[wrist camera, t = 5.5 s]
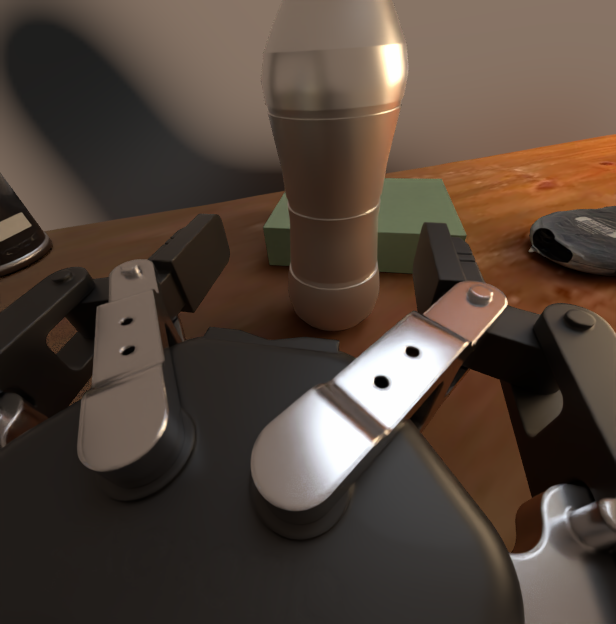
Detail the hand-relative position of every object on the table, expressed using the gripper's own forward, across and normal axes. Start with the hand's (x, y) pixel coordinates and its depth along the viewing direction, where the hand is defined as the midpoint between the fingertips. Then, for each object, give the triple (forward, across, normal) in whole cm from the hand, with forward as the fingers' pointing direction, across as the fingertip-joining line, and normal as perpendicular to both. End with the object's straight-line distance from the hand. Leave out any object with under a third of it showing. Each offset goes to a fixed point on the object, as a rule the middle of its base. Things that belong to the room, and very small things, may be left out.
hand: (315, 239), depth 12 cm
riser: (+19, -2, +10) cm, 21 cm away
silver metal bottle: (+6, 0, +10) cm, 12 cm away
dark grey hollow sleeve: (+18, -25, +10) cm, 33 cm away
